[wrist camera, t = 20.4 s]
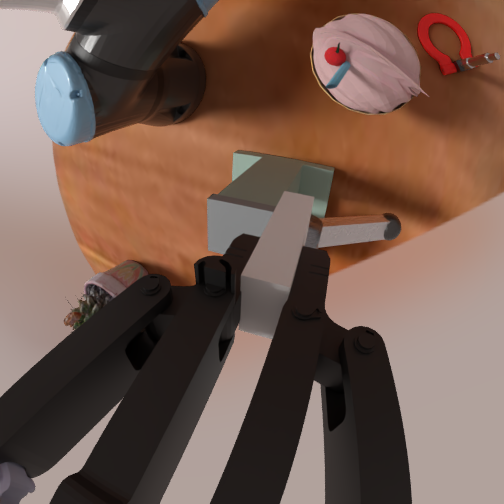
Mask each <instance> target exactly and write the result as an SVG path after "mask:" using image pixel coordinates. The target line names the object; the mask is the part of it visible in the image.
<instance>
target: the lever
mask: <svg viewBox="0 0 504 504" xmlns="http://www.w3.org/2000/svg"><path fill="white" fill-rule="evenodd" d="M400 231H401V223H400V220H399V219H398V217H397V216H395V215H394V214H391V213H385V214H382V215H366V216H348V217H332V218H318V217H316V216H314V215H312V214H311V217H310V223H309V228H308V233H307V238H306V243H305V246H306V247H311V248H315V249H318V248H320V247H328V246H336V245H344V244H352V243H360V242H368V241H376V240H384V239H385V240H393V239H395V238H396V237H397V236H398V235H399V234H400Z"/></svg>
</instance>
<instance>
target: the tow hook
mask: <svg viewBox="0 0 504 504" xmlns="http://www.w3.org/2000/svg"><path fill="white" fill-rule="evenodd" d="M434 23H441V24H445V25H447V26H448V27H450V28H451V29H452V30H453V31H454V32H455V33H456V34H457V36H458V37H459V39H460V42H461V50H460V52H459V55H460V57H461V60H457V61H454V62H451V60H450V58H449V56H447V55H445V54H443V53H441V52H440V51H438V50H437V49H436V48H435V47H434V46H433V44H432V43H431V41H430V39H429V35H428V30H429V27H430V25H432V24H434ZM417 32H418V37H419V40H420V43H421V44H422V46H423V48H424V49H425V51H426V52H427V53H428V54H429V55H430V56H431V57H432V58H434V59H435V60H436V61H438V63H439V65H440V70H441V72H442V74H443V75H447V74H451V73H455V72H461V71H465V70H469V69H472V68H475V67H478V66H479V65H484V64H488V63H492V62H493V60H498V59H500V55H499V54H498V53H492V54H489V53H485V54H482V55H478V56H475V57H473V56H472V54H471V44H470V41H469V38H468V36H467V34H466V33H465V31H464V30H463V28H462V27H461V26H460V25H459V24H458V23H457V22H455V21H454V20H453V19H451V18H449V17H447V16H446V15H442V14H439V13H431V14H427V15H425V16H424V17H423V18H422V19H421V20H420V22H419V23H418V28H417Z"/></svg>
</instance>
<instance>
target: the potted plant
mask: <svg viewBox="0 0 504 504" xmlns="http://www.w3.org/2000/svg"><path fill="white" fill-rule="evenodd" d="M146 275H149V274H148V272H147V270H146V269H145V268H144V267H143V266H142V265H140V264H139V263H137V262H135V261H133V260H127V261H125V262H123V263H121V264H119V265H117V266H116V267H114V268H112V269H110V270H108V271H106V272H104V273H98V274H96V275H95V276H93V277H92V278H91V279H89V280H88V281H87V282H86V283H85V285H84V293H85V294H84V295H83V297H84V298H85V301H82V300H78V303H79V307H78V308H75V309H73V310H72V313H69V314H68V315H67V316H66V318H65V319H64V324H65V325H66V326H68V325H70V327H72V326H73V330H74V329H75V330H76V329H77V328H78V327H79V326H81V325H82V324H83V323H84V322H85V321H87V320H88V319H89V318H90V317H91V316H93V315H94V314H95V313H96V312H98V311H99V310H100V309H101V308H102V307H104V306H105V305H106V304H107V303H109V302H110V301H111V300H112V299H114V298H115V297H116V296H117V295H119V294H120V293H121V292H123V291H124V290H125V289H126V288H128V287H129V286H130V285H132V284H133V283H134V282H135V281H137V280H138V279H140V278H141V277H143V276H146ZM74 323H75V324H74Z"/></svg>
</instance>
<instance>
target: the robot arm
mask: <svg viewBox="0 0 504 504" xmlns="http://www.w3.org/2000/svg"><path fill="white" fill-rule="evenodd" d="M218 1H219V0H0V9H17V10H18V9H19V10H30V11H41V12H48V13H54V14H55V15H56V16H57V19H58V21H59V24H60V26H61V29H63V30H67V31H73V32H76V33H75V35H74V37H73V39H72V41H71V43H70V45H69V47H68V49H67V50H66V52H62V51H61V52H57V53H55V54H54V55H51V56H50V57H49V58H48V59H46V60H45V61H44V62H43V64H42V66H41V68H40V70H39V72H38V76H37V80H36V87H35V101H36V108H37V113H38V117H39V120H40V122H41V125H42V127H43V129H44V131H45V132H46V134H47V135H48V136H49V138H50V139H51V140H52V141H54V142H55V143H57V144H59V145H61V146H72V145H75V144H78V143H81V142H88V141H90V140H92V139H93V138H96V137H98V136H101V135H104V134H106V133H109V132H112V131H115V130H118V129H121V128H124V127H127V126H130V125H134V124H137V123H140V124H146V125H151V126H168V125H171V124H175V123H178V122H180V121H182V120H184V119H186V118H187V117H188V116H190V115H191V114H192V113H193V112H194V111H195V109H196V108H197V107H198V105H199V103H200V101H201V99H202V97H203V94H204V91H205V85H206V74H205V68H204V65H203V62H202V60H201V58H200V57H199V55H198V54H197V53H196V52H195V51H194V50H193V49H192V48H190V47H189V46H187V45H185V44H182V43H180V42H181V41H182V40H183V39H184V38H185V37H186V35H187V34H188V33H189V32H190V31H191V30H192V29H193V28H194V27H195V26H196V25H197V24H198V22H199V21H200V20H201V19H202V18H203V17H206V16H207V15H208V11H209V10H210V9H211V8H212V7H213V6H214V5H215V4H216V3H217V2H218ZM313 201H314V197H312V196H307V195H303V194H298V193H293V192H288V191H284V193H283V195H282V197H281V199H280V201H279V203H278V204H277V206H276V208H275V210H274V212H273V214H272V216H271V218H270V220H269V222H268V224H267V226H266V228H265V230H264V232H263V233H262V235H261V237H258V236H253V235H249V234H244V233H243V234H241V235H239V236H238V237H236V238H235V239H234V240H233V241H232V243H231V244H230V246H229V248H228V249H227V250H226V252H225V254H224V255H223V256H207V257H204V258H202V259H199V260H198V261H197V262H196V263H195V264H194V268H195V278H196V285H194V286H171V284H170V281H169V280H168V279H167V278H166V277H165V276H162V275H159V274H150V275H146V276H143V277H141V278H140V279H138V280H137V281H135V282H134V283H133V284H132V285H130V286H129V287H128V288H126V289H125V290H124V291H123V292H121V293H120V294H119V295H117V296H116V297H115V298H114V299H112V300H111V301H110V302H109V303H107V304H106V305H105V306H104V307H102V308H101V309H100V310H99V311H98V312H96V313H95V314H94V315H93V316H91V317H90V318H89V319H88V320H87V321H85V322H84V323H83V324H82V325H81V326H79V327H78V328H77V329H76V330H75V331H73V332H72V333H71V334H70V335H69V336H67V337H66V338H65V339H64V340H63V341H62V342H61V343H59V344H58V345H57V346H56V347H55V348H54V349H52V350H51V351H50V352H49V353H48V354H47V355H46V356H44V357H43V358H42V359H41V360H40V361H39V362H38V363H37V364H36V365H34V366H33V367H32V368H31V369H30V370H29V371H28V372H27V373H26V374H24V375H23V376H22V377H21V378H20V379H19V380H18V381H17V382H16V383H15V384H14V385H13V386H12V387H11V388H10V389H8V391H6V392H5V393H4V394H3V395H2V396H1V397H0V504H19V502H20V500H21V499H22V498H23V497H25V496H26V495H27V494H28V492H30V493H32V492H34V490H35V484H34V482H33V480H32V479H31V478H34V477H37V476H39V475H41V474H43V473H45V472H46V471H48V470H49V469H50V468H52V467H53V466H54V465H55V464H57V462H58V461H59V460H60V459H62V458H63V457H64V456H65V455H66V454H67V453H68V452H69V451H70V450H71V449H72V448H73V447H74V446H75V445H76V444H77V443H78V442H79V441H80V440H81V439H82V438H83V437H84V436H85V435H86V434H87V433H88V432H89V431H90V430H91V429H92V428H93V427H94V426H95V425H96V424H97V423H98V422H99V421H100V420H101V419H102V418H103V417H104V416H105V415H106V414H107V413H108V412H109V411H110V410H111V409H112V408H113V407H114V406H116V405H117V404H118V403H119V402H120V400H122V399H123V400H122V401H121V403H120V404H119V406H118V408H117V410H116V411H115V413H114V414H113V416H112V418H111V420H110V421H109V423H108V425H107V426H106V428H105V430H104V431H103V433H102V435H101V437H100V438H99V440H98V442H97V444H96V445H95V447H94V449H93V451H92V453H91V454H90V456H89V458H88V459H87V461H86V463H85V465H84V466H83V468H82V469H81V470H80V471H79V472H78V473H75V474H72V475H70V476H68V477H67V478H65V479H64V480H63V481H62V482H61V484H60V485H59V486H58V489H57V490H56V492H55V494H54V496H53V498H52V500H51V502H50V504H160V501H161V499H162V497H163V495H164V493H165V491H166V489H167V487H168V485H169V482H170V480H171V478H172V476H173V474H174V472H175V470H176V468H177V466H178V464H179V462H180V459H181V457H182V455H183V453H184V451H185V449H186V447H187V445H188V442H189V440H190V438H191V436H192V434H193V432H194V429H195V427H196V425H197V423H198V421H199V418H200V416H201V414H202V412H203V410H204V408H205V405H206V403H207V401H208V399H209V396H210V394H211V392H212V390H213V388H214V385H215V383H216V381H217V379H218V377H219V374H220V372H221V370H222V368H223V365H224V363H225V360H226V358H227V356H228V354H229V352H230V349H231V347H232V345H233V343H234V337H235V330H236V328H237V326H238V324H239V330H241V331H244V332H248V333H252V334H255V335H259V336H262V337H266V338H270V339H272V342H271V345H270V348H269V351H268V354H267V357H266V360H265V363H264V366H263V369H262V372H261V375H260V378H259V380H258V383H257V386H256V389H255V392H254V394H253V397H252V400H251V403H250V406H249V408H248V411H247V413H246V416H245V419H244V421H243V424H242V427H241V429H240V433H239V435H238V437H237V440H236V442H235V445H234V447H233V450H232V452H231V455H230V457H229V460H228V462H227V465H226V467H225V470H224V472H223V474H222V477H221V479H220V482H219V484H218V486H217V489H216V491H215V493H214V496H213V498H212V500H211V502H210V504H280V501H281V498H282V495H283V492H284V490H285V486H286V483H287V480H288V477H289V474H290V471H291V467H292V464H293V461H294V457H295V454H296V450H297V447H298V443H299V439H300V436H301V432H302V428H303V424H304V420H305V416H306V412H307V408H308V404H309V399H310V395H311V390H312V385H313V381H314V380H315V381H317V382H318V383H320V384H321V397H322V411H323V428H324V453H325V504H412V497H411V484H410V472H409V463H408V456H407V448H406V441H405V435H404V428H403V422H402V417H401V412H400V406H399V401H398V397H397V392H396V387H395V383H394V379H393V374H392V371H391V366H390V362H389V358H388V354H387V351H386V347H385V343H384V341H383V339H382V337H381V336H380V335H379V334H378V333H377V332H376V331H375V330H373V329H371V328H369V327H363V326H358V327H354V328H352V329H350V330H347V329H345V328H343V327H341V326H339V325H338V324H336V323H334V322H333V321H332V320H331V319H330V318H329V317H328V315H327V313H326V310H325V298H326V291H327V284H328V276H329V268H330V258H329V256H328V253H327V251H324V250H319V249H315V248H311V247H306V246H305V243H306V238H307V233H308V228H309V223H310V217H311V212H312V207H313Z"/></svg>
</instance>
